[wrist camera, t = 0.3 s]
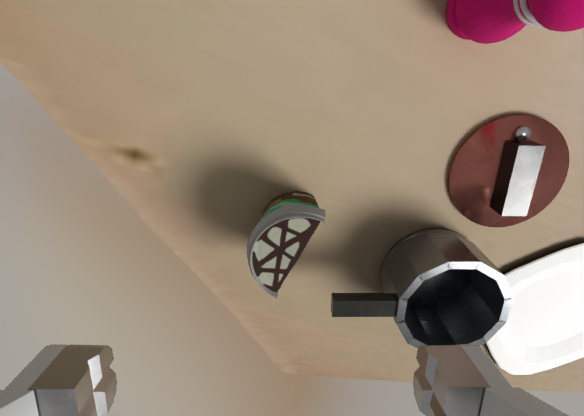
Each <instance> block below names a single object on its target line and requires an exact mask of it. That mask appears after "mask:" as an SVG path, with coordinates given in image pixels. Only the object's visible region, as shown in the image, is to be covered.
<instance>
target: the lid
mask: <svg viewBox="0 0 584 416" xmlns="http://www.w3.org/2000/svg"><path fill="white" fill-rule="evenodd" d="M568 168H569V151H568V146H567V143H566V141H565V139H564V137H563V135H562V134H561V132H560V131H559V130H558V129H557V128H556V127H555V126H554V125H552V124H551V123H549V122H547V121H546V120H543V119H540V118H537V117H533V116H529V115H510V116H505V117H501V118H498V119H495V120H493V121H491V122H489V123H487V124H485V125H484V126H482V127H480V128H479V129H478V130H476V131H475V132H474V133H473V134H471V135H470V136H469V137H468V138H467V139H466V141H465V142H464V143H463V144H462V145H461V147H460V148H459V150H458V151H457V153H456V155H455V157H454V159H453V162H452V164H451V167H450V171H449V179H448V184H449V192H450V196H451V199H452V201H453V203H454V205H455V206H456V207H457V209H458V210H459V211H460V212H461V213H462V214H463V215H464V216H465V217H467V218H468V219H469V220H471V221H473V222H475V223H477V224H480V225H483V226H488V227H506V226H511V225H515V224H518V223H521V222H523V221H526V220H528V219H530V218H531V217H533V216H535V215H536V214H538V213H539V212H540V211H542V210H543V209H544V208H545V207H546V206H547V205H548V204H549V203H550V202H551V201H552V200H553V199H554V198H555V197H556V195H557V194H558V192H559V191H560V189H561V187H562V185H563V183H564V181H565V178H566V176H567V172H568Z"/></svg>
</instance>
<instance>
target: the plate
mask: <svg viewBox="0 0 584 416" xmlns="http://www.w3.org/2000/svg"><path fill="white" fill-rule="evenodd" d="M503 275H504V276H505V278H506V281H507V283H508V286H509V288H510V291H511V293H512V296H513V301H512V305H511V308H510V312H509V315H508V319H507V323H506V324H505V325H504V326H503V327H502V328H501V329H500V330H499V331H498V332H497V333H496V334H495V335H494V336H493V337H492V338H491V339H490V340H489V341H488V342H487V343H486V344H487V346H488V348H489V350H490V353H491V355H492V356H493V358H494V359H495V361H496V362H497V364H498V365H499V367H500V368H501V369H503V370H505V371H506V372H508V373H510V374H512V375H530V374H533V373H537V372H541V371H545V370H548V369H552V368H554V367H557V366H560V365H563V364H566V363H569V362H571V361H574V360H577V359H579V358H582V357H584V242H583V243H579V244H576V245H573V246H570V247H566V248H563V249H560V250H558V251H555V252H553V253H550V254H548V255H545V256H543V257H540V258H538V259H536V260H533V261H531V262H529V263H526V264H524V265H522V266H519V267H517V268H515V269H513V270H511V271H509V272H507V273H505V274H503Z"/></svg>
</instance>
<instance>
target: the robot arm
mask: <svg viewBox="0 0 584 416" xmlns="http://www.w3.org/2000/svg"><path fill="white" fill-rule="evenodd" d="M113 359H114V358H113V353H112V348H111V347H109V346H106V345H49V346H46V347H44V349H42V351H41V352H40V353H39V354H38V355H37V356H36V357H35V358H34V359H33V360H32V361H31V362H30V363H29V364H28V365H27V366H26V367H25V368H24V369H23V370H22V372H21V373H20V374H19V375H18V376H17V377H16V378H15V379H14V380H13V381H12V382H11V383H10V384H9V385H8V386H7V387H6V388H5V389H4V390H0V416H104V415H106V414H107V413H108V412H109V410H110V408H111V406H112V404H113V401H114V397H115V394H116V384H117V380H116V374H115V372H114V371H113V370H112V369H111V368H110V367H109V366H110V364H111V363H112V361H113ZM416 359H417V361H418V363H419V365H420V367H419V368H418V369H417V370H416V371H415V372H414V381H413V385H414V395H415V398H416V402H417V405H418V407H419V409H420V411H421V412H422V413H423V414H425V415H426V416H568V415H567V414H565V413H563V412H561V411H559V410H558V409H556V408H554V407H552V406H551V405H548V404H547V403H545V402H543V401H542V400H540V399H538V398H536V397H534V396H533V395H531V394H529V393H527V392H526V391H524V390H522V389H520V388H513V387H512V386H511V385H510V383H509V382H508V381H507V380H506V378H505V377H504V376H503V375H502V373H501V372H500V371H499V370H498V368H497V367H496V366H495V365H494V364H493V362H492V361H491V360H490V359H489V357H488V356H487V355H486V354H485V352H484V351H483V350H482V349H481V347H480V346H478V345H476V344H457V345H420V346H419V348H418V350H417V357H416Z"/></svg>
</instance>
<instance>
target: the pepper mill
mask: <svg viewBox="0 0 584 416" xmlns="http://www.w3.org/2000/svg"><path fill="white" fill-rule="evenodd" d="M446 16H447V22H448V25H449V27H450V29H451V30H452V32H453V33H454V34H455V35H457V36H458V37H460V38H463V39H467V40H473V41H475V42H478V43H485V44H488V43H495V42H499V41H502V40H505V39H507V38H509V37H511V36H512V35H514V34H516V33H517V32H518V31H520V30H521V29H522V28H523V27H524V26H525V25H526V24H527V25H529V26H533V27H545V28H547V29H549V30H554V31H563V32H565V31H573V30H577V29H581V28H584V0H449V1H448V5H447V10H446Z"/></svg>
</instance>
